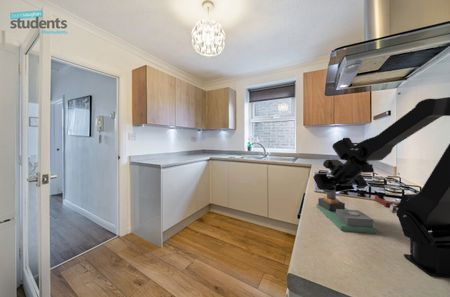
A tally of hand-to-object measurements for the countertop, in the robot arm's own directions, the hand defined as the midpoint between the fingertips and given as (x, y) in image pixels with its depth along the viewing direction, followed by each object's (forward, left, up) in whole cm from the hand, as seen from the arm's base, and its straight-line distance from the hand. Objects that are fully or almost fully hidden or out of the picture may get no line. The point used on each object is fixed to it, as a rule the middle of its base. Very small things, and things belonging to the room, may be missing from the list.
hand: (328, 191), depth 71 cm
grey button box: (-13, -2, -6) cm, 15 cm away
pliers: (+10, -29, -9) cm, 32 cm away
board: (-7, -1, -8) cm, 11 cm away
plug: (-1, 0, -6) cm, 7 cm away
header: (-1, 0, -6) cm, 7 cm away
